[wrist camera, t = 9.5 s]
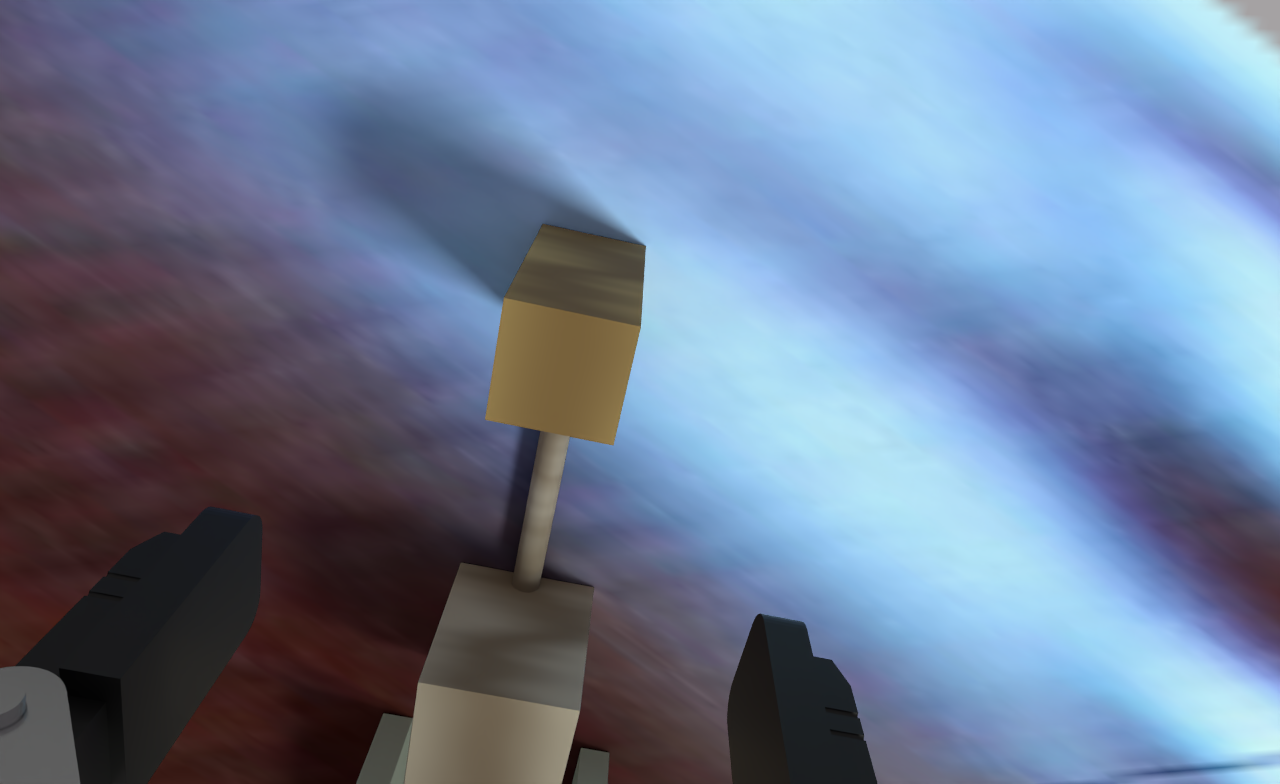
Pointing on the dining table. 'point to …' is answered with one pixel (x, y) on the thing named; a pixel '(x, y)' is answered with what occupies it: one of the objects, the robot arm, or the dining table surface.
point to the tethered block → (532, 525)
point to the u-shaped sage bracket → (391, 746)
